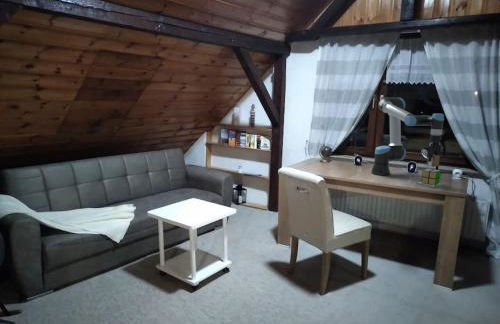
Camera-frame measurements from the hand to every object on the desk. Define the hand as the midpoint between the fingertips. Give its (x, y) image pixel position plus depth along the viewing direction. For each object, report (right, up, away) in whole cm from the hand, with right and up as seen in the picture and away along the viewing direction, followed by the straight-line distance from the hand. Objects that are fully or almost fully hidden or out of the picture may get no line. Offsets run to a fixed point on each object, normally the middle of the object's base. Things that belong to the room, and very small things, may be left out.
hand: (432, 165), depth 267 cm
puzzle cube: (0, -14, +3) cm, 14 cm away
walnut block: (0, 0, 0) cm, 0 cm away
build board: (0, -15, +3) cm, 15 cm away
